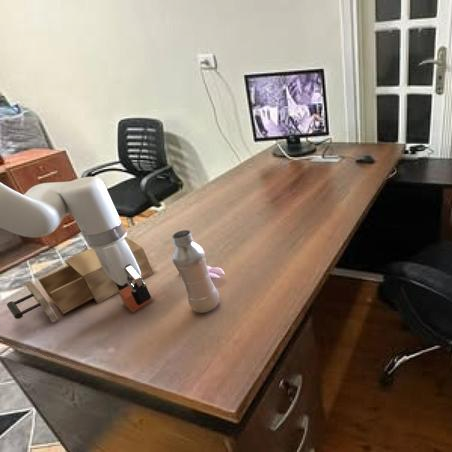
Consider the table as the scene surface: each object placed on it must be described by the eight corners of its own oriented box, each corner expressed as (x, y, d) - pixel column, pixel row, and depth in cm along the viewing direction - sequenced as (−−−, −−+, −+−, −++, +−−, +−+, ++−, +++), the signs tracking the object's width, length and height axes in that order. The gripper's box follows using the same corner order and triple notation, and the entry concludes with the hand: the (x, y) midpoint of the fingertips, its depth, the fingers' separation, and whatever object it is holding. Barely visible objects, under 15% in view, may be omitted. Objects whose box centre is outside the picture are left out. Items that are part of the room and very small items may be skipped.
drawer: (27, 336, 78) (11, 313, 74) (14, 315, 84) (-2, 294, 81) (112, 290, 90) (102, 269, 87) (95, 275, 96) (85, 255, 93)
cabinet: (97, 303, 87) (82, 276, 83) (79, 286, 94) (64, 260, 90) (153, 273, 97) (142, 247, 93) (133, 259, 104) (122, 234, 100)
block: (133, 312, 83) (126, 298, 81) (124, 305, 86) (118, 291, 83) (150, 301, 86) (144, 287, 84) (142, 295, 88) (136, 281, 86)
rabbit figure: (177, 283, 94) (215, 289, 86) (167, 264, 91) (206, 269, 84) (194, 270, 99) (232, 274, 91) (186, 252, 96) (224, 255, 88)
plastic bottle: (223, 309, 81) (200, 236, 71) (193, 320, 79) (165, 246, 69) (218, 294, 86) (196, 223, 76) (190, 304, 84) (163, 232, 74)
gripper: (72, 231, 79) (104, 290, 87) (103, 253, 69) (135, 317, 77) (107, 217, 83) (134, 274, 92) (140, 235, 73) (167, 298, 82)
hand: (135, 294), depth 84 cm, fingers open, 9 cm apart
